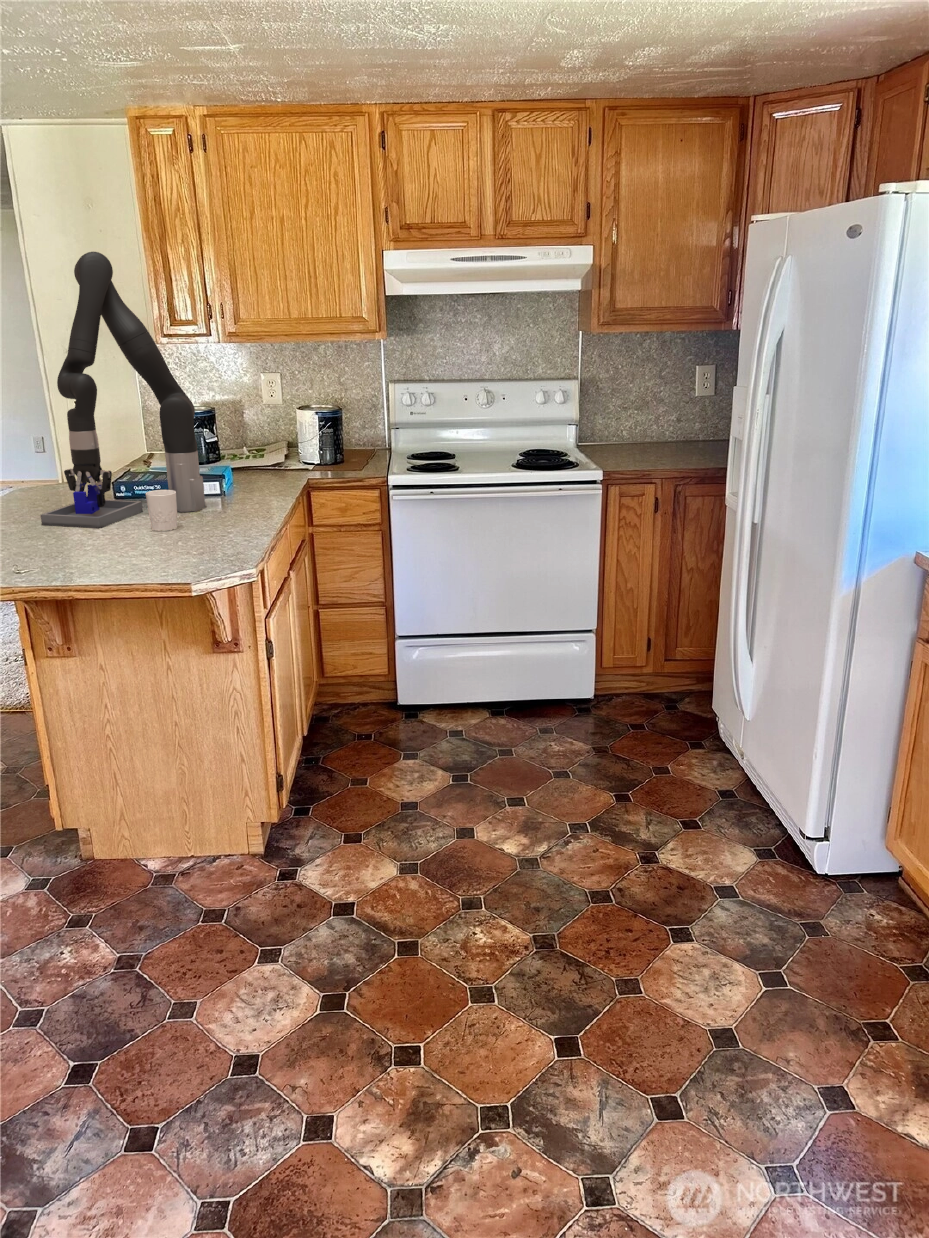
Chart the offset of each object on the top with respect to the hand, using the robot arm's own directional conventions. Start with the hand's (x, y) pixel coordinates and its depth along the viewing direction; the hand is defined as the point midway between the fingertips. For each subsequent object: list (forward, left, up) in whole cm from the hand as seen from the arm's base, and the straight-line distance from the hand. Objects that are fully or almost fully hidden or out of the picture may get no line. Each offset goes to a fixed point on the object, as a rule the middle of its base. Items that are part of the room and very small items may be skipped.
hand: (92, 505), depth 263 cm
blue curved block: (0, 0, -1) cm, 1 cm away
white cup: (-26, +7, -4) cm, 27 cm away
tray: (0, 0, -4) cm, 4 cm away
